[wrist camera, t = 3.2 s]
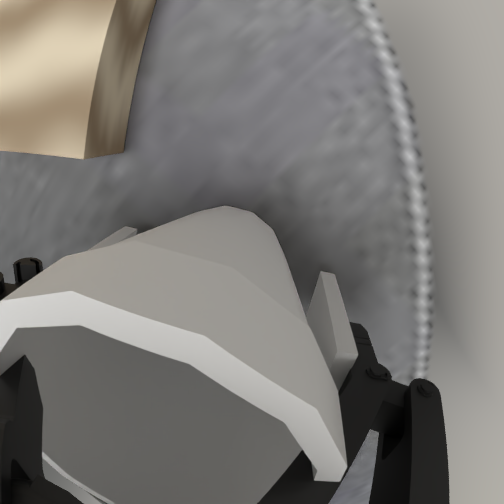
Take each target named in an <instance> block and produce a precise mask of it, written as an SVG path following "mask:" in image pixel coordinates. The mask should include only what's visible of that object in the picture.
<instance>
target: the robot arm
mask: <svg viewBox="0 0 504 504" xmlns="http://www.w3.org/2000/svg"><path fill="white" fill-rule="evenodd" d="M135 235H137V229H135V228H131V227H127V226H124V227H123V228H121V229H120V230H118V231H116V232H115V233H113V234H112V235H110V236H109V237H107V238H105V239H104V240H102V241H101V242H99V243H98V244H96V245H95V246H93V247H92V248H90V249H89V250H87V251H90V250H94V249H99V248H103V247H107V246H111V245H113V244H116V243H118V242H121V241H123V240H126V239H128V238H130V237H133V236H135ZM13 267H14V274H15V281H16V283H15V284H9V283H4V278H3V274H2V273H1V272H0V301H1V300H2V299H4V298H5V297H6V296H8V295H9V294H11V293H12V292H13V291H15V290H16V289H17V288H19V287H20V286H22V285H23V284H25V283H26V282H27V281H29V280H30V279H32V278H33V277H35V276H36V275H38V274H39V273H40V272H42V271H43V267H42V262H41V261H40V260H39V259H37V258H23V259H20V260H18V261H16V262H15V263H14V264H13ZM306 319H307V322H308V325H309V327H310V328H311V330H312V333H313V335H314V337H315V339H316V342H317V344H318V346H319V348H320V351H321V353H322V355H323V358H324V360H325V362H326V364H327V367H328V369H329V371H330V374H331V376H332V378H333V381H334V383H335V385H336V387H337V390H338V396H339V403H340V410H341V417H342V425H343V433H344V441H345V449H346V458H347V469H346V471H345V473H344V475H343V477H342V479H341V481H340V482H331V481H314V478H313V470H312V463H311V461H310V459H309V458H308V457H307V455H306V454H305V452H304V451H303V449H302V451H301V452H300V453H299V454H298V456H297V457H296V458H295V460H294V461H293V462H292V463H291V465H290V466H289V467H288V468H287V470H286V471H285V472H284V473H283V474H282V476H281V477H280V478H279V479H278V480H277V482H276V483H275V484H274V485H273V486H272V487H271V489H270V490H269V491H268V492H267V493H266V494H265V495H264V496H263V498H262V499H261V500H260V501H259V502H258V503H257V504H328V503H329V502H330V500H331V498H332V497H333V495H334V494H335V492H336V490H337V489H338V487H339V485H340V484H341V482H342V480H343V479H344V477H345V475H346V473H347V472H348V470H349V468H350V466H351V465H352V463H353V461H354V459H355V457H356V455H357V453H358V452H359V450H360V448H361V446H362V444H363V442H364V440H365V438H366V436H367V434H368V432H369V430H370V429H371V430H374V431H377V432H379V438H378V447H377V455H376V463H375V470H374V476H373V483H372V489H371V494H370V500H369V504H449V472H448V456H447V444H446V434H445V426H444V416H443V410H442V402H441V395H440V392H439V389H438V388H437V387H436V386H435V385H434V384H433V383H432V382H430V381H428V380H425V379H420V378H418V379H414V380H413V381H412V382H411V383H410V385H409V386H406V385H403V384H400V383H397V382H395V381H393V380H391V378H392V376H391V374H390V372H389V371H388V369H387V368H386V367H384V366H383V365H381V364H379V363H378V362H377V359H376V356H375V353H374V350H373V347H372V344H371V341H370V340H369V339H370V338H369V335H368V332H367V331H366V330H365V328H364V327H363V326H362V325H361V324H357V323H352V322H349V319H348V316H347V313H346V309H345V306H344V303H343V299H342V296H341V293H340V290H339V286H338V283H337V280H336V277H335V274H332V273H328V272H324V271H320V274H319V277H318V281H317V284H316V287H315V290H314V293H313V296H312V299H311V302H310V305H309V308H308V311H307V314H306ZM42 426H43V405H42V401H41V396H40V392H39V388H38V383H37V378H36V373H35V369H34V367H33V366H32V364H31V363H30V361H29V360H28V358H27V357H26V355H23V356H22V357H21V358H20V359H19V360H18V361H16V362H15V363H14V364H13V365H12V366H11V367H9V368H8V369H7V370H6V371H5V372H4V373H3V374H1V375H0V504H83V503H82V502H81V501H79V500H78V499H77V498H76V497H74V496H73V495H72V494H71V493H69V492H68V491H66V490H64V489H62V488H60V487H59V486H57V485H55V484H53V483H51V482H49V481H48V480H46V479H45V477H44V474H43V469H42Z"/></svg>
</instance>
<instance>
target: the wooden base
mask: <svg viewBox="0 0 504 504" xmlns="http://www.w3.org/2000/svg"><path fill="white" fill-rule="evenodd" d="M155 3H156V0H0V151H12V152H23V153H34V154H43V155H52V156H61V157H69V158H77V159H88V158H94V157H99V156H105V155H111V154H117V153H123V152H124V144H125V137H126V130H127V124H128V118H129V112H130V106H131V101H132V96H133V90H134V85H135V80H136V76H137V71H138V67H139V62H140V58H141V54H142V50H143V46H144V42H145V38H146V34H147V30H148V27H149V23H150V20H151V16H152V13H153V9H154V6H155Z"/></svg>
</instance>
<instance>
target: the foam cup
mask: <svg viewBox="0 0 504 504" xmlns="http://www.w3.org/2000/svg"><path fill="white" fill-rule="evenodd" d="M23 355H26V357H27V358H28V360H29V361H30V363H31V364H32V366H33V367H34V369H35V373H36V378H37V383H38V388H39V392H40V396H41V401H42V405H43V426H42V458H44V460H45V461H47V462H48V463H49V464H50V465H51V466H52V467H53V468H54V469H55V470H57V471H58V472H59V473H60V474H61V475H63V476H64V477H65V478H67V479H68V480H70V481H71V482H73V483H74V484H76V485H78V486H79V487H81V488H82V489H84V490H86V491H87V492H89V493H91V494H92V495H94V496H96V497H97V498H99V499H101V500H103V501H104V502H106V503H108V504H257V503H258V502H259V501H260V500H261V499H262V498H263V496H264V495H265V494H266V493H267V492H268V491H269V490H270V489H271V487H272V486H273V485H274V484H275V483H276V482H277V480H278V479H279V478H280V477H281V476H282V474H283V473H284V472H285V471H286V470H287V468H288V467H289V466H290V465H291V463H292V462H293V461H294V460H295V458H296V457H297V456H298V454H299V453H300V452H301V451H302V449H303V451H304V452H305V454H306V455H307V457H308V458H309V459H310V461H311V463H312V470H313V478H314V481H331V482H340V481H341V479H342V477H343V475H344V473H345V471H346V469H347V458H346V449H345V441H344V433H343V425H342V417H341V410H340V403H339V396H338V390H337V387H336V385H335V383H334V381H333V378H332V376H331V374H330V371H329V369H328V367H327V364H326V362H325V360H324V358H323V355H322V353H321V351H320V348H319V346H318V344H317V342H316V339H315V337H314V335H313V333H312V330H311V328H310V327H309V325H308V322H307V319H306V316H305V313H304V310H303V307H302V304H301V301H300V298H299V295H298V292H297V289H296V286H295V284H294V281H293V278H292V275H291V272H290V269H289V266H288V263H287V260H286V258H285V255H284V253H283V250H282V248H281V246H280V244H279V242H278V239H277V237H276V235H275V233H274V231H273V229H272V228H271V227H270V226H269V225H267V224H266V223H265V222H264V221H263V220H261V219H260V218H259V217H258V216H256V215H255V214H254V213H253V212H250V211H246V210H242V209H239V208H235V207H231V206H227V205H226V206H221V207H216V208H211V209H207V210H202V211H199V212H195V213H193V214H190V215H187V216H185V217H182V218H179V219H177V220H174V221H171V222H169V223H166V224H164V225H161V226H158V227H156V228H153V229H151V230H148V231H146V232H143V233H140V234H138V235H135V236H133V237H130V238H128V239H126V240H123V241H121V242H118V243H116V244H113V245H111V246H107V247H103V248H99V249H94V250H90V251H85V252H81V253H77V254H73V255H68V256H65V257H63V258H61V259H60V260H58V261H57V262H55V263H54V264H52V265H51V266H49V267H48V268H46V269H45V270H43V271H42V272H40V273H39V274H38V275H36V276H35V277H33V278H32V279H30V280H29V281H27V282H26V283H25V284H23V285H22V286H20V287H19V288H17V289H16V290H15V291H13V292H12V293H11V294H9V295H8V296H6V297H5V298H4V299H2V300H1V301H0V375H1V374H3V373H4V372H5V371H6V370H7V369H8V368H9V367H11V366H12V365H13V364H14V363H15V362H16V361H18V360H19V359H20V358H21V357H22V356H23ZM328 504H329V503H328Z"/></svg>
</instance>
